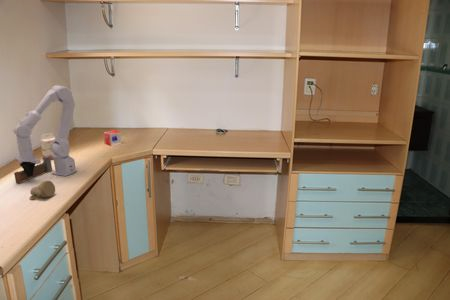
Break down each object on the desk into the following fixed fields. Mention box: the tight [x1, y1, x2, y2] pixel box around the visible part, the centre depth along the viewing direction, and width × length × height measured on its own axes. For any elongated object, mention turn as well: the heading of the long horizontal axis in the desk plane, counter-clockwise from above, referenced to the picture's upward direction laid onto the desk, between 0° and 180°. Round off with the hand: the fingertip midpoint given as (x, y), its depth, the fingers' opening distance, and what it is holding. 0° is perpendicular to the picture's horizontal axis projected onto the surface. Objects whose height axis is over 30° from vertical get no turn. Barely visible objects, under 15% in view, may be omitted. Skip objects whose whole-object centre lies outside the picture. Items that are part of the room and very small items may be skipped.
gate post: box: [41, 156, 53, 173], centre depth 187 cm, size 3×3×8 cm
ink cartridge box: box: [39, 132, 56, 161], centre depth 206 cm, size 9×5×15 cm, turn 141°
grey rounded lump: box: [29, 180, 56, 201], centre depth 157 cm, size 8×10×10 cm
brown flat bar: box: [13, 161, 48, 184], centre depth 178 cm, size 1×17×5 cm, turn 159°
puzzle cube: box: [103, 129, 123, 147], centre depth 237 cm, size 8×8×8 cm
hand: (30, 176), depth 175 cm, fingers closed
